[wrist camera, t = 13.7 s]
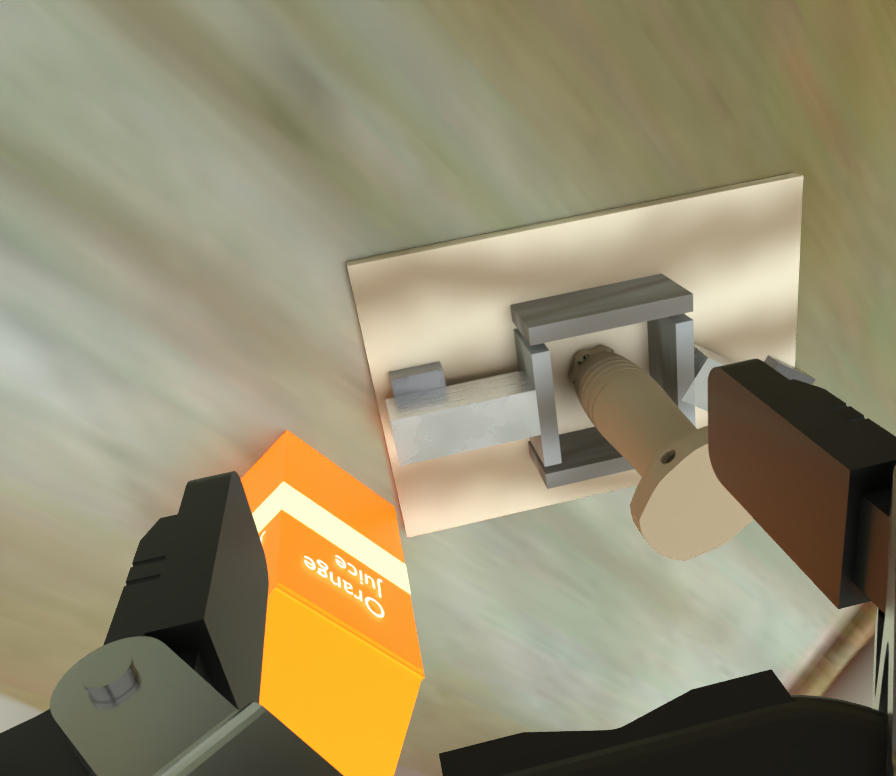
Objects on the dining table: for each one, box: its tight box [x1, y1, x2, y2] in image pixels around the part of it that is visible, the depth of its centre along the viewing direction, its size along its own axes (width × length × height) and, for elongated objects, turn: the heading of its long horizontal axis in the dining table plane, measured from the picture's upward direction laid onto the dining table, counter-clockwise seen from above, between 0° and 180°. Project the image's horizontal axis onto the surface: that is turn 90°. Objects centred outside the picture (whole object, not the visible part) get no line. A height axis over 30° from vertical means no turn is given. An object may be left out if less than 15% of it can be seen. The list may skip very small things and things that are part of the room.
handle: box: [568, 345, 754, 561], centre depth 38 cm, size 5×6×15 cm
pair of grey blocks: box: [385, 344, 815, 466], centre depth 45 cm, size 10×26×4 cm, turn 99°
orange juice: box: [241, 430, 425, 776], centre depth 38 cm, size 8×9×20 cm
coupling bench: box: [347, 173, 803, 538], centre depth 44 cm, size 18×26×5 cm
